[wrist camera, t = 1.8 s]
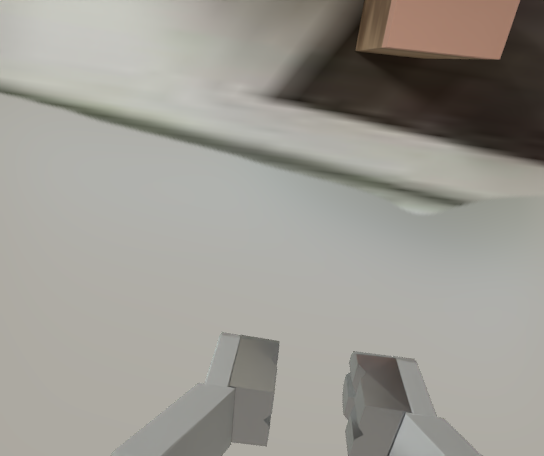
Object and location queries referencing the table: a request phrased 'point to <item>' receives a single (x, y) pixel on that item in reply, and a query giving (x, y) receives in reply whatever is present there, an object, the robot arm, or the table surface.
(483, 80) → the table surface
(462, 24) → the walnut block
